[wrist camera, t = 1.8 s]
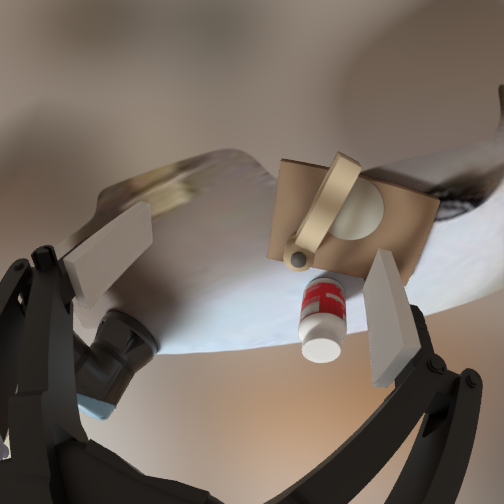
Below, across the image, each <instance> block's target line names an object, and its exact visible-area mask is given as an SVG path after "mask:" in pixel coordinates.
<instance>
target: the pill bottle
mask: <svg viewBox="0 0 504 504" xmlns="http://www.w3.org/2000/svg"><path fill="white" fill-rule="evenodd" d="M298 329H299V330H298V333H299V337H300V339H301V341H302V353H303V355H304V357H306V358H307V359H308V360H310V361H313V362H317V363H325V362H330V361H333V360H335V359H336V358H337V357H338V356H339V355H340V353H341V343H342V342H343V340H344V339H345V337H346V333H347V323H346V302H345V292H344V289H343V287H342V286H341V284H340V283H338V282H337V281H335V280H333V279H330V278H319V279H316V280H313V281H312V282H310V283H309V284H308V285H307V286H306V288H305V290H304V293H303V301H302V308H301V315H300V322H299V328H298Z"/></svg>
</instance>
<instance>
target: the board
mask: <svg viewBox="0 0 504 504" xmlns="http://www.w3.org/2000/svg"><path fill="white" fill-rule="evenodd" d="M329 168H330V167H325V166H320V165H315V164H310V163H305V162H299V161H294V160H288V159H282V160H281V162H280V169H279V177H278V184H277V191H276V198H275V205H274V212H273V219H272V226H271V233H270V240H269V246H268V253H267V258H269V259H273V260H278V261H283V262H284V259H283V256H284V251H285V247H286V243H287V240H288V238H289V237H290V236H292V235H293V234H296V233H297V231H298V229H299V227H300V225H301V223H302V221H303V219H304V217H305V215H306V213H307V211H308V210H309V208H310V206H311V204H312V202H313V200H314V198H315V196H316V194H317V192H318V190H319V188H320V186H321V184H322V182H323V180H324V178H325V176H326V174H327V172H328V170H329ZM439 204H440V200H439V199H438V198H437V197H436V196H433V195H430V194H427V193H423V192H420V191H417V190H414V189H411V188H407V187H404V186H401V185H397V184H394V183H390V182H387V181H383V180H379V179H376V178H372V177H368V176H364V175H360V174H359V175H358V177H357V179H356V181H355V183H354V184H353V186H352V188H351V190H350V192H349V194H348V195H347V197H346V199H345V201H344V203H343V204H342V206H341V208H340V210H339V212H338V213H337V215H336V217H335V219H334V220H333V222H332V224H331V226H330V227H329V229H328V231H327V233H326V234H325V236H324V238H323V239H322V241H321V243H320V244H319V246H318V248H317V250H316V251H315V257H314V263H313V265H312V266H311V267H312V268H317V269H322V270H327V271H332V272H337V273H342V274H347V275H352V276H357V277H361V278H364V280H365V282H366V279H367V277H368V274H369V272H370V269H371V267H372V264H373V262H374V259H375V257H376V254H377V251H378V249H383V250H388V251H391V253H392V255H393V258H394V260H395V263H396V266H397V269H398V271H399V274H400V277H401V280H402V283H403V286H406V285H407V283H408V281H409V278H410V276H411V274H412V272H413V270H414V268H415V265H416V263H417V261H418V259H419V256H420V254H421V252H422V249H423V247H424V244H425V242H426V239H427V237H428V234H429V232H430V229H431V226H432V224H433V221H434V218H435V215H436V212H437V210H438V207H439Z"/></svg>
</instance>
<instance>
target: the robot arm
mask: <svg viewBox="0 0 504 504" xmlns="http://www.w3.org/2000/svg"><path fill="white" fill-rule="evenodd" d="M152 243H153V234H152V222H151V208H150V203H149V202H142V201H139V202H138V203H136V204H135V205H133V206H132V207H130V208H129V209H128V210H126V211H125V212H123V213H122V214H120V215H119V216H118V217H116V218H115V219H114V220H112V221H111V222H109V223H108V224H107V225H105V226H104V227H103V228H101V229H100V230H99V231H97V232H96V233H95V234H93V235H92V236H89V237H87V238H85V239H84V240H83V241H81V242H80V243H79V244H78V245H76V246H75V247H74V248H73V249H71V250H70V251H69V252H68V253H66V254H65V255H64V256H63V257H62V258H60V259H59V260H57V257H56V254H55V250H54V247H53V246H50V245H45V246H41V247H39V248H37V249H36V250H35V251H33V253H32V254H31V257H32V260H33V263H34V265H35V267H31V266H30V264H29V261H28V260H27V259H25V258H23V259H18V260H16V261H15V262H14V263H13V264H12V265H11V266H10V267H9V269H8V270H7V272H6V274H5V275H4V277H3V279H2V280H1V282H0V504H224V503H223V502H221V501H220V500H218V499H217V498H215V497H213V496H211V495H210V493H209V492H208V491H205V490H202V489H198V488H195V487H192V486H189V485H186V484H184V483H181V482H178V481H174V480H168V479H162V478H156V477H150V476H146V475H144V474H143V473H142V472H140V471H139V470H138V469H136V468H135V467H134V466H132V465H130V464H129V463H128V462H126V461H125V460H124V459H122V458H121V457H120V456H118V455H117V454H116V453H114V452H112V451H110V450H109V449H107V448H105V447H103V446H102V445H100V444H98V443H96V442H95V441H93V440H91V439H90V440H88V437H87V435H86V432H85V431H84V429H83V427H82V425H81V421H80V416H79V411H81V412H82V413H84V414H86V415H88V416H90V417H92V418H95V419H98V420H106V419H108V418H109V416H110V415H111V413H112V412H113V410H114V409H115V408H116V406H117V404H118V402H119V400H120V399H121V397H122V395H123V393H124V392H125V390H126V388H127V386H128V385H129V383H130V381H131V379H132V378H133V376H134V374H135V373H136V372H137V371H139V370H140V369H141V368H143V367H144V366H145V365H146V364H147V363H148V362H150V361H151V360H152V359H153V357H154V356H155V354H156V352H157V344H156V342H155V340H154V338H153V337H152V335H151V334H150V333H149V332H148V331H147V329H146V328H145V327H143V326H142V325H141V324H140V323H139V322H137V321H136V320H135V319H133V318H131V317H130V316H128V315H126V314H124V313H121V312H117V311H110V312H107V313H106V314H105V316H104V317H103V318H102V319H101V321H100V324H99V327H98V330H97V333H96V336H95V339H94V342H93V343H92V345H91V346H90V347H89V346H87V345H86V343H85V342H84V341H83V340H82V339H81V338H80V337H79V336H78V335H77V334H76V333H75V332H74V330H73V302H72V299H73V298H74V297H75V296H76V299H77V301H78V304H79V305H80V306H82V307H85V308H87V309H90V308H91V307H92V306H93V305H94V304H95V303H96V302H97V301H98V299H99V298H100V297H101V296H102V295H103V294H104V293H105V292H106V291H107V290H108V288H109V287H110V286H111V285H112V284H113V283H114V282H115V281H116V280H117V279H118V278H119V277H120V276H121V275H122V274H123V273H124V272H125V271H126V269H127V268H128V267H129V266H130V265H131V264H132V263H133V262H134V261H135V260H136V259H137V258H138V257H139V256H140V255H141V254H142V253H143V252H144V251H145V250H146V249H147V248H148V247H149V246H150V245H151V244H152ZM19 294H20V297H21V299H22V302H21V304H20V303H19V301H18V296H19ZM363 294H364V301H365V309H366V317H367V326H368V335H369V346H370V358H371V374H372V386H374V387H385V388H388V387H389V386H390V385H391V383H392V382H393V381H394V380H395V389H394V390H393V391H392V392H391V393H390V394H389V395H388V396H387V397H386V398H385V399H384V402H383V403H382V404H381V405H380V406H379V408H377V410H376V411H375V412H374V413H373V414H372V415H371V416H370V417H369V418H368V419H367V420H366V421H365V422H364V424H363V425H362V426H361V427H360V428H359V429H358V430H357V431H356V432H355V433H354V434H353V435H352V436H350V437H349V438H348V439H347V440H346V441H345V442H344V443H343V444H342V445H341V446H340V447H339V448H338V449H337V450H335V451H334V452H333V453H332V454H331V455H330V456H329V457H327V459H325V460H324V461H323V462H322V463H320V464H319V465H318V466H317V467H316V468H314V469H313V470H312V471H311V472H309V473H308V474H307V475H305V476H304V477H303V478H301V479H300V480H299V481H298V482H296V483H295V484H293V485H292V486H290V487H289V488H288V489H286V490H285V491H283V492H282V493H280V494H279V495H277V496H276V497H274V498H272V499H271V500H269V501H267V502H265V503H264V504H348V503H349V502H350V501H351V500H352V499H353V498H354V497H355V496H356V495H357V494H358V493H359V492H360V491H361V490H362V489H363V488H364V487H365V486H366V485H367V484H368V483H369V482H370V481H371V480H372V479H373V478H374V477H375V476H376V474H377V473H378V472H379V471H380V470H381V469H382V468H383V467H384V465H385V464H386V463H387V462H388V461H389V459H390V458H391V457H392V456H393V455H394V453H395V452H396V451H397V450H398V448H399V447H400V446H401V445H402V443H403V442H404V441H405V439H406V438H407V437H408V435H409V434H410V432H411V431H412V429H413V428H414V427H415V425H416V424H417V422H418V421H419V419H420V418H421V416H422V415H423V413H425V415H424V418H423V421H422V424H421V426H420V429H419V432H418V435H417V437H416V440H415V442H414V445H413V447H412V449H411V452H410V454H409V456H408V459H407V461H406V463H405V465H404V467H403V469H402V471H401V473H400V475H399V477H398V479H397V482H396V483H395V485H394V487H393V489H392V491H391V493H390V494H389V496H388V498H387V500H386V501H385V503H384V504H455V501H456V498H457V496H458V493H459V491H460V488H461V485H462V482H463V479H464V476H465V473H466V470H467V466H468V463H469V459H470V455H471V451H472V448H473V443H474V439H475V434H476V429H477V424H478V418H479V412H480V405H481V397H482V388H483V384H482V379H481V377H480V375H479V374H478V373H477V372H476V371H475V370H473V369H470V368H467V369H465V370H464V371H462V373H461V374H460V375H459V374H456V373H454V372H452V371H449V370H447V367H446V364H445V362H444V360H443V359H442V358H441V357H440V356H438V355H437V354H435V353H434V350H433V346H432V343H431V339H430V336H429V332H428V331H427V325H426V324H425V319H424V316H423V313H422V312H421V311H420V309H419V308H418V307H417V306H415V305H410V304H409V302H408V298H407V295H406V292H405V289H404V286H403V283H402V280H401V277H400V274H399V271H398V269H397V266H396V263H395V260H394V258H393V255H392V253H391V251H388V250H383V249H378V251H377V254H376V257H375V259H374V262H373V264H372V267H371V269H370V272H369V274H368V277H367V279H366V282H365V284H364V286H363ZM8 435H9V441H10V450H11V458H9V459H4V460H3V458H7V457H8V455H9V449H8V447H7V446H6V445H5V444H4V442H5V440H6V438H7V436H8Z"/></svg>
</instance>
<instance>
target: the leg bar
mask: <svg viewBox="0 0 504 504" xmlns="http://www.w3.org/2000/svg"><path fill="white" fill-rule="evenodd" d="M361 169H362V167H361V165H360V164H359V162H357V161H356V160H354V159H352V158H350V157H348V156H346V155H344V154H342V153H340V152H337V154H336V156H335V158H334V160H333V162H332V164H331V166H330V168H329V170H328V172H327V174H326V176H325V178H324V180H323V182H322V184H321V186H320V188H319V190H318V192H317V194H316V196H315V198H314V200H313V202H312V204H311V206H310V208H309V210H308V211H307V213H306V215H305V217H304V219H303V221H302V223H301V225H300V227H299V229H298V231H297V233H296V234H293V235H292V236H290V237H289V238H288V240H287V243H286V247H285V251H284V256H283V259H284V263H285V264H286V266H287V267H288V268H290V269H291V270H294V271H299V272H300V271H305V270H308V269H309V268H310V267H311V266H312V265H313V263H314V257H315V251H316V250H317V248H318V246H319V244H320V243H321V241H322V239H323V238H324V236H325V234H326V233H327V231H328V229H329V227H330V226H331V224H332V222H333V220H334V219H335V217H336V215H337V213H338V212H339V210H340V208H341V206H342V204H343V203H344V201H345V199H346V197H347V195H348V194H349V192H350V190H351V188H352V186H353V184H354V183H355V181H356V179H357V177H358V175H359V173H360V171H361Z"/></svg>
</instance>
